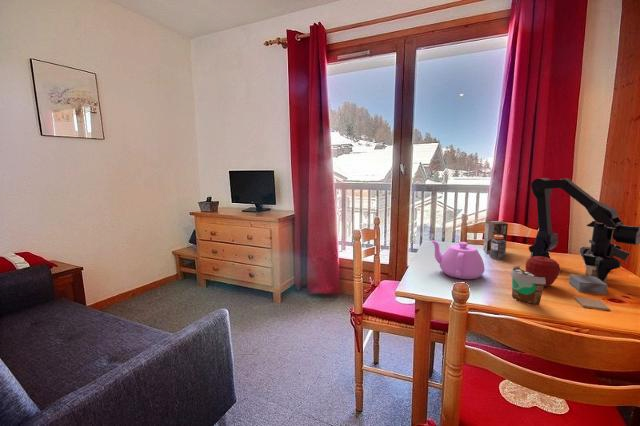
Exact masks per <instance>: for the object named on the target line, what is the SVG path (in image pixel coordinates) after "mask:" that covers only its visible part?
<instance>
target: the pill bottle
mask: <svg viewBox="0 0 640 426" xmlns="http://www.w3.org/2000/svg"><path fill="white" fill-rule="evenodd" d="M503 239H504V236H502V235H494V239H492V241H491V253H489V254H490V255H489V257H490V258H492V259H494V260H503V259H504V258H505V254H504V252H505V241H504V240H503Z"/></svg>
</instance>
